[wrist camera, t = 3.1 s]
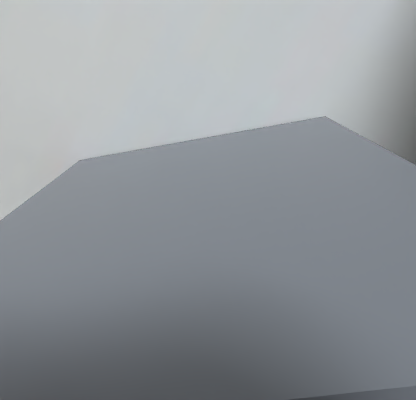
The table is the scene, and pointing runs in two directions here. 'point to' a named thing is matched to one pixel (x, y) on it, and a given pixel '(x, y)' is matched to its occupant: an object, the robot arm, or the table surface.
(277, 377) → the grey matte cube
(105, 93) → the table surface
